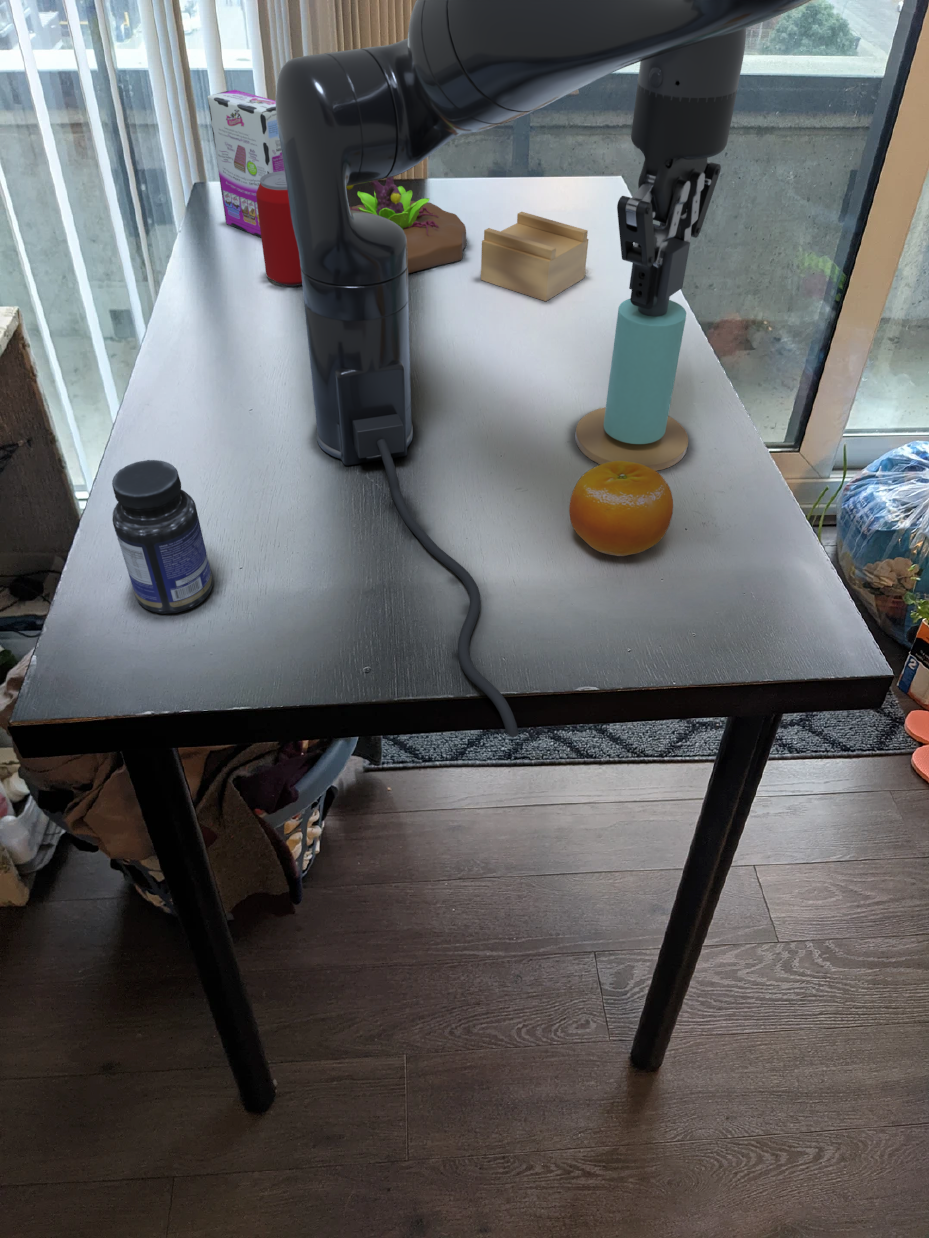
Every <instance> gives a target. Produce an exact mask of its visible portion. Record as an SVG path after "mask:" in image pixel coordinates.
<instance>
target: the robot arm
mask: <svg viewBox="0 0 929 1238" xmlns="http://www.w3.org/2000/svg"><path fill="white" fill-rule="evenodd" d="M811 1H812V0H415V3H414V6H413V8H412V11H411V14H410V18H409V22H408V23H409V24H408V29H407V38H405V39H402V40H400V41H396V42H394V43H391V44H385V45H377V46H368V47H362V48H361V47H360V48H355V49H346V50H340V51H339V50H338V51H331V52H324V53H316V54H308V55H303V56H298V57H293V58H291V59H288V60H287V61H286V62H285V63H284V64H283V65H282V67H281V68H280V70H279V73H278V76H277V80H276V85H275V100H274V101H275V102H276V117H277V125H278V133H279V139H280V145H281V151H282V157H283V163H284V169H285V176H286V183H287V189H288V196H289V205H290V213H291V219H292V224H293V229H294V233H295V237H296V241H297V245H298V250H299V257H300V266H301V276H302V295H303V305H304V306H303V307H304V315H305V316H304V317H305V323H306V324H305V326H306V336H307V346H308V355H309V356H308V357H309V363H310V365H309V366H310V376H311V384H312V385H311V386H312V394H313V404H314V412H315V422H316V423H315V424H316V429H315V431H316V442H317V444H318V446H319V447H320V448H321V450H322V451H323V452H325V453H327V454H328V455H330V456H332V457H334V458H337V459H339V460H341V461H342V464H343V465H344V466H351V465H353V466H354V465H358V464H364V463H371V462H378V461H382V463H383V466H384V469H385V472H386V475H387V480H388V485H389V490H390V494H391V497H392V500H393V503H394V505H395V507H396V509H397V511H398V513H399V516H400V517H401V519H402V521H403V522H404V524H405V525H406V526H407V528H408V529H409V530H410V531H411V533H413V534H414V536H415V537H416V538H417V539H418V540H419V542H420V543H421V544H422V545H423V547H424V548H425V549H426V550H427V551H428V552H429V553H430V554H431V555H432V556H433V557H434V558H436V559H437V560H438V561H439V562H440V563H442V564H443V565H444V566H445V567H447V568H448V569H449V570H450V571H451V572H452V573H454V574H455V575H456V576H457V577H458V578H459V579H460V580H461V582H462V583H463V585H464V587H465V589H466V591H467V592H468V593H467V594H468V597H469V607H468V611H467V614H466V617H465V619H464V621H463V624H462V627H461V629H460V632H459V635H458V641H457V657H458V662H459V665H460V668H461V670H462V671H463V673H464V674H465V676H466V677H467V678H468V679H469V681H471V683H473V685H474V686H476V687H477V688H478V689H479V690H480V691H481V692H483V693H484V695H486V696H487V698H488V699H489V700H490V701H491V702H492V703H493V705H494V707H495V708H496V710H497V711H498V714H499V716H500V719H501V720H502V723H503V727H504V730H505V733H506V735H507V736H508V737H511V738H517V737H518V735H519V728H518V724H517V720H516V718H515V715H514V713H513V711H512V709H511V706H510V705H509V703H508V701H507V700H506V698H505V697H504V696H503V694H502V693H501V692H500V691H499V689H498V688H496V687H495V685H493V683H491V682H490V681H489V680H488V679H487V678H486V677H485V676H484V675H482V674H481V672H479V671H478V670H477V668H476V667H475V665H474V663H473V660H472V658H471V655H470V641H471V638H472V634H473V632H474V629H475V626H476V624H477V621H478V619H479V616H480V611H481V603H482V602H481V601H482V600H481V592H480V590H479V587H478V584H477V582H476V581H475V579H474V578H473V576H472V575H471V574H470V573H469V571H468V570H466V569H465V568H464V566H462V565H461V564H460V563H459V562H458V561H457V560H455V559H454V558H453V557H451V556H450V555H449V554H448V553H447V552H445V551H444V550H443V549H441V548H440V546H439V545H438V544H436V543H435V541H433V539H432V538H431V536H429V535H428V533H427V532H426V531H425V530H424V529H423V528H422V527H421V525H420V524H419V523H418V522H417V520H415V517H414V516H413V515H412V514H411V512H410V510H409V507H408V506H407V504H406V502H405V499H404V497H403V494H402V492H401V487H400V481H399V478H398V474H397V469H396V466H395V463H394V460H393V459H396V458H402V457H406V456H408V447H409V446H410V444H411V443H412V441H413V437H414V426H413V423H412V421H413V420H412V392H411V391H412V390H411V389H412V388H411V350H410V345H411V344H410V310H409V309H410V308H409V307H410V306H409V305H410V304H409V302H410V301H409V296H410V295H409V273H408V250H407V239H406V235H405V233H404V231H403V230H402V228H401V227H400V226H399V225H397V224H396V223H394V222H393V221H391V220H389V219H387V218H384V217H382V216H379V215H375V214H371V213H366V212H361V211H356V210H352V209H349V207H350V205H349V199H348V192H347V191H348V189H346V186H351V185H354V186H356V185H361V184H365V183H366V184H367V183H370V182H371V181H376V180H377V181H381V180H384V179H386V178H390V177H393V178H394V177H396V176H397V177H398V176H400V175H401V174H405V173H407V172H408V171H410V170H411V169H413V168H414V167H416V166H417V165H419V164H420V163H421V162H423V161H424V160H426V159H427V158H428V157H430V155H432V154H433V153H435V152H436V151H437V150H439V149H440V148H442V147H443V146H444V145H445V144H447V143H448V142H450V141H451V140H453V139H454V138H457V137H458V136H461V135H466V134H476V133H481V132H484V131H487V130H490V129H492V128H495V127H498V126H501V125H505V124H507V123H510V122H512V121H515V120H517V119H520V118H522V117H524V116H527V115H529V114H532V113H533V112H535V111H537V110H540V109H543V108H544V107H546V106H549V105H551V104H552V103H554V102H556V101H558V100H560V99H563V98H564V97H566V96H568V95H570V94H573V92H576V91H578V90H580V89H581V88H583V87H585V86H587V85H590V84H592V83H594V82H596V81H598V80H601V79H602V78H604V77H606V76H609V75H611V74H613V73H615V72H617V71H620V70H622V69H624V68H626V67H630V66H632V65H634V64H637V63H639V70H638V76H637V77H638V79H637V85H636V94H635V101H634V108H633V109H634V110H633V118H632V125H631V133H630V139H631V142H632V144H633V146H634V147H635V148H637V149H639V150H640V151H641V153H642V155H643V157H644V160H643V164H642V168H641V171H640V174H639V178H638V180H637V181H638V183H637V190H636V192H635V193H634V194H633V196H631V197H630V196H626V195H621V196H620V197H619V198H618V201H617V204H616V212H617V222H618V231H619V234H618V235H619V245H620V251H621V252H620V253H621V260H622V261H625V262H629V263H632V264H633V263H635V270H634V277H633V284H632V290H631V292H630V298H629V299H630V300H631V303H632V304H633V305H635V306H638V307H641V308H645V309H651V308H652V307H654V306H655V305H656V303H657V296H658V290H659V284H660V278H661V271H662V263H663V261H664V256H665V252H666V248H667V244H668V241H669V239H672V238H675V239H679V240H683V241H687V242H690V243H691V241H692V239H691V238H694V239H696V238H698V237H699V236H700V233H701V231H702V228H703V224H704V221H705V218H706V215H707V212H708V209H709V206H710V203H711V200H712V197H713V194H714V191H715V188H716V186H717V182H718V181H719V180H718V179H719V177H720V174H721V168H722V165H721V164H719V163H716V162H712V161H710V160H708V158H712V157H715V156H717V155H719V154H721V153H722V152H723V151H724V150H725V149H726V148H727V145H728V142H729V141H728V140H729V135H730V130H731V125H732V119H733V114H734V108H735V103H736V99H737V93H738V89H739V83H740V77H741V72H742V67H743V62H744V58H745V57H744V56H745V51H746V50H745V49H746V41H747V40H746V39H747V38H746V37H747V28H749V27H752V26H755V25H758V24H761V23H764V22H767V21H769V20H771V19H774V18H777V17H778V16H781V15H784V14H785V13H788V12H790V11H792V10H794V9H797V8H799V7H802V6H803V5H806V4H807V3H810V2H811ZM654 221H656V222H659V224H655V223H654ZM654 237H656V239H657V243H656V247H655V249H654Z"/></svg>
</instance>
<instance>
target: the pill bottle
mask: <svg viewBox="0 0 929 1238" xmlns="http://www.w3.org/2000/svg"><path fill="white" fill-rule="evenodd" d="M111 481H112V483H111V485H112V490H113V493H114V497H115V500H116V505H115V506H114V508H113V511H112V520H111V521H112V524H113V529H114V532H115V535H116V537H117V541H118V544H119V547H120V551H121V554H122V557H123V560H124V564H125V568H126V570H127V574H128V576H129V580H130V584H131V586H132V590H133V593H134V596H135V598H136V601H137V602H138V604H140V606H142V608H144V609H146V610H148V611H150V612H152V613H156V614H157V613H158V614H175V613H180V612H183V611H187V610H190V609H192V608H195V607H196V606H198V605H199V604H201V603H203V602H204V601H205V599H207V598H208V596H209V595H210V593H211V592H212V588H213V585H214V581H213V580H214V579H213V575H212V571H211V567H210V562H209V558H208V552H207V549H206V545H205V541H204V536H203V532H202V528H201V522H200V519H199V515H198V510H197V504H196V502H195V500H194V499H193V498H192V496H191V495H190V494H188V493H187V492H186V491H185V490H184V489H182V482H181V478H180V475H179V471H178V469H177V468H176V467H175V466H174V465H173V464H172V463H170V462H167V461H164V460H158V459H146V460H140V461H135V462H133V463H130V464H127V465H125V466H124V467H123V468H120V469H119V470H118V471H117V472H116V473H115V474H114V476H113V478H112V480H111Z"/></svg>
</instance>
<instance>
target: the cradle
mask: <svg viewBox="0 0 929 1238" xmlns="http://www.w3.org/2000/svg"><path fill="white" fill-rule="evenodd" d="M588 231H589V230H588V229H584V228H580V227H577V226H574V225H571V224H567V223H563V222H560V221H556V220H553V219H549V218H547V217H543V216H539V215H536V214H532V213H528V212H525V211H520V212H518V213H517V215H516V223H514V224H512V225H510V226H508V227H506V228H505V229H503V230H501V231H500V230H497V229H494V228H492V227H491V228H490V227H488V228H486V229H484V231H483V239H482V240H481V256H480V258H481V260H480V281H483V282H486V283H489V284H492V285H495V286H498V287H500V288H504V289H507V290H510V291H513V292H516V293H519V294H522V295H524V296H529V297H531V298H534V299H538V300H540V301H543V302H548V301H549V300H550V299H553V298H554V297H556V296H558V295H559V294H560V293H562V292H563V291H566V290H567V289H569V288H570V287H572V286H574V285H575V284H577V283H578V282H581V281H582V280H583V279H585V276H586V266H587V258H588V247H589V239H588Z"/></svg>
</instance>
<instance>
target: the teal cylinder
mask: <svg viewBox="0 0 929 1238" xmlns="http://www.w3.org/2000/svg"><path fill="white" fill-rule="evenodd" d="M656 243H657V239H656V237H654V249H655V247H656ZM690 246H691V241H690V242H687V241H683V240H679V239H675V238H672V239H669V241H668V244H667V248H666V252H665V256H664V261H663V263H662V271H661V278H660V284H659V290H658V296H657V303H656V305H655V306H654V307H652V308H651V309H645V308H641V307H638V306H635V305H633V304H632V303H631V300H630V298H628V299H626V300H623V301H622V302H621V303H620V304H619V305H618V307H617V308H618V309H617V318H616V323H615V324H616V325H615V333H614V339H613V348H612V356H611V363H610V372H609V380H608V386H607V396H606V401H605V402H606V403H605V407H606V409H605V417H604V429H605V431H606V432H607V434H608V435H610V436H611V437H612V438H614V439H616V440H619V441H622V442H625V443H630V444H648V443H652V442H655V441H657V440H659V439H660V438H662V437H663V435H664V434H665V430H666V425H667V419H668V416H669V413H670V407H671V403H672V397H673V391H674V386H675V379H676V374H677V369H678V363H679V357H680V352H681V347H682V341H683V336H684V332H685V330H684V329H685V325H686V319H687V310H686V309H685V308H684V307H683V306H682V305H681V304H680V303H678V302H676V301H674V300H672V299H670V298H671V296H673V295H674V294H676V293H678V291H680V290H681V289H683V288H684V287H683V286H684V281H685V275H686V270H687V264H688V258H689V254H690V253H689V252H690V248H691V247H690ZM634 270H635V263H632V264H631V272H630V277H629V287H628V288H629V290H631V291H632V284H633V277H634Z"/></svg>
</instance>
